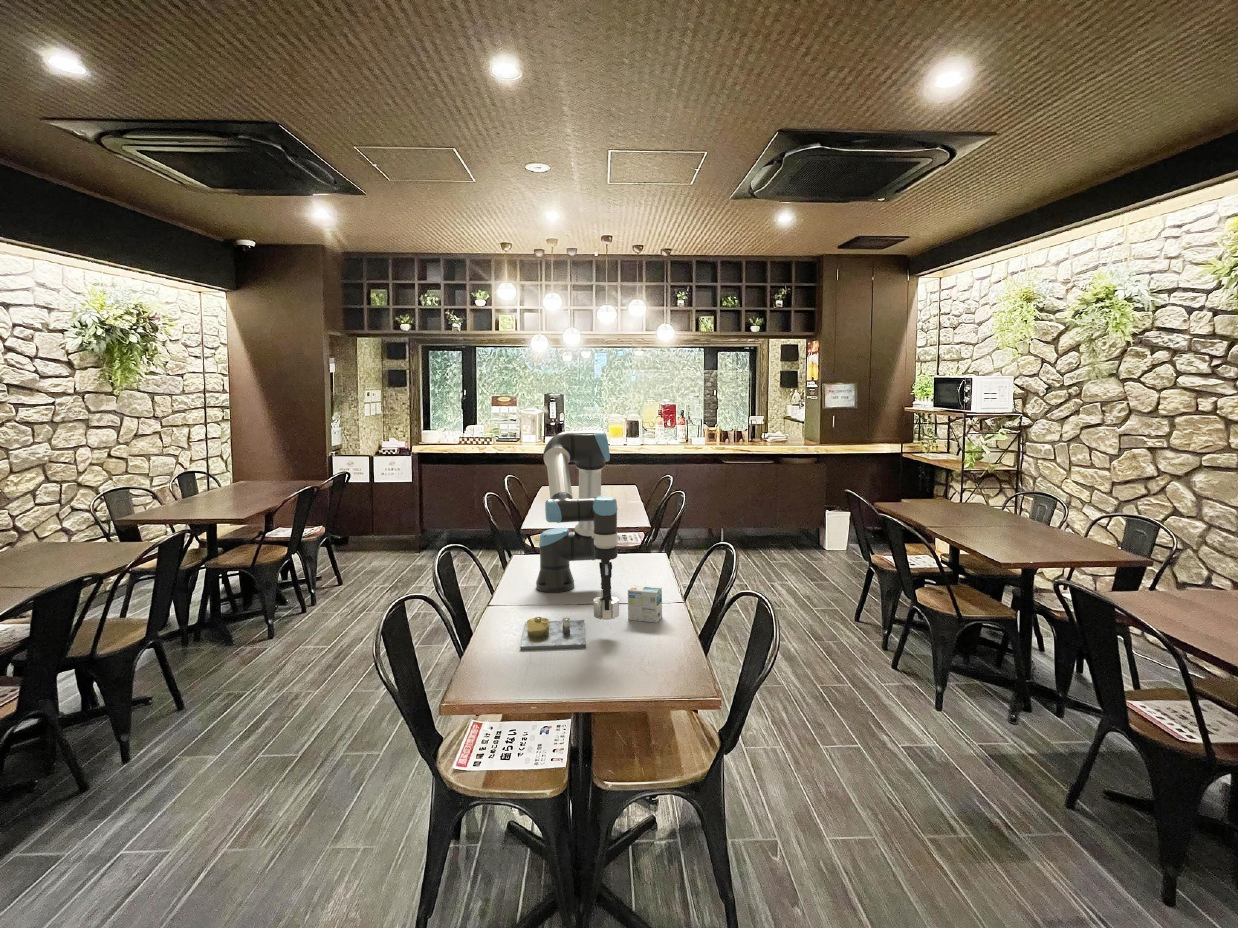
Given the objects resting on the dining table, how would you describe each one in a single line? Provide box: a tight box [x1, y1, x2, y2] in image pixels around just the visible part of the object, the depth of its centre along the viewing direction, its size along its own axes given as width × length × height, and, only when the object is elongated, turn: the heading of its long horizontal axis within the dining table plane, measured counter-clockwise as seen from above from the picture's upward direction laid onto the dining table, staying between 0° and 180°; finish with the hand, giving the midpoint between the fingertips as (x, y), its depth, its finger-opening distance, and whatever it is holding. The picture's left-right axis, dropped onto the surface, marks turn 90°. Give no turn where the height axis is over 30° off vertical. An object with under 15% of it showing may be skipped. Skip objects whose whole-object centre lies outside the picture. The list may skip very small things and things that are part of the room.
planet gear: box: [593, 595, 620, 621], centre depth 226 cm, size 8×8×5 cm
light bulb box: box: [627, 584, 663, 624], centre depth 242 cm, size 11×7×11 cm, turn 71°
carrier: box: [519, 616, 587, 651], centre depth 226 cm, size 22×20×6 cm
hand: (606, 613), depth 226 cm, fingers closed on planet gear, 8 cm apart
